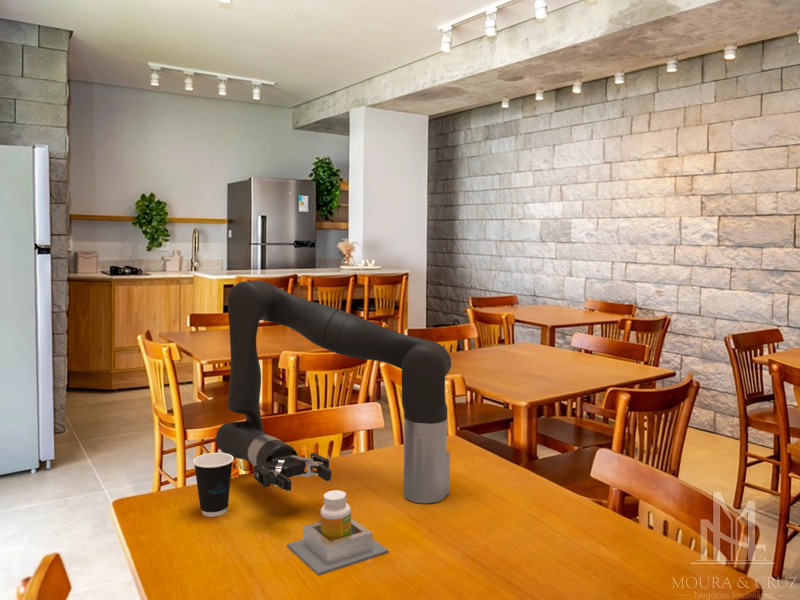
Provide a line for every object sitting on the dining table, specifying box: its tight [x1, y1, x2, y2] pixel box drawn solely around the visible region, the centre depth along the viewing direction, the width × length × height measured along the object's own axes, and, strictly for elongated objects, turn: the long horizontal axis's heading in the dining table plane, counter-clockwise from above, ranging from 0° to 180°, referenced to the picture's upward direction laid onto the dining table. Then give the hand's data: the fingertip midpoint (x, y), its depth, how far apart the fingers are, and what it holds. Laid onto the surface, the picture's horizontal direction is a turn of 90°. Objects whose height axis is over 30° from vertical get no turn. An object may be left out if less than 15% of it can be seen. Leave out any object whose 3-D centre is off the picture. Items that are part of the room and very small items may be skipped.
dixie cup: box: [192, 452, 235, 518], centre depth 133 cm, size 8×8×11 cm
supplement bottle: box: [320, 489, 352, 541], centre depth 118 cm, size 5×5×10 cm
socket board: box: [286, 517, 390, 576], centre depth 118 cm, size 14×12×4 cm
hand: (309, 480), depth 125 cm, fingers open, 8 cm apart
